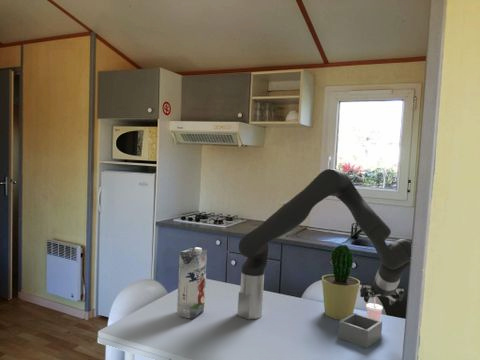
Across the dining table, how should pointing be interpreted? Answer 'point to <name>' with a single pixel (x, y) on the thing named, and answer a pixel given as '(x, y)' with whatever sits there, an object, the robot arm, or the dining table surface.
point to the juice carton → (191, 282)
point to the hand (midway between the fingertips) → (378, 301)
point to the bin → (360, 330)
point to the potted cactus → (340, 285)
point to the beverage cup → (374, 310)
